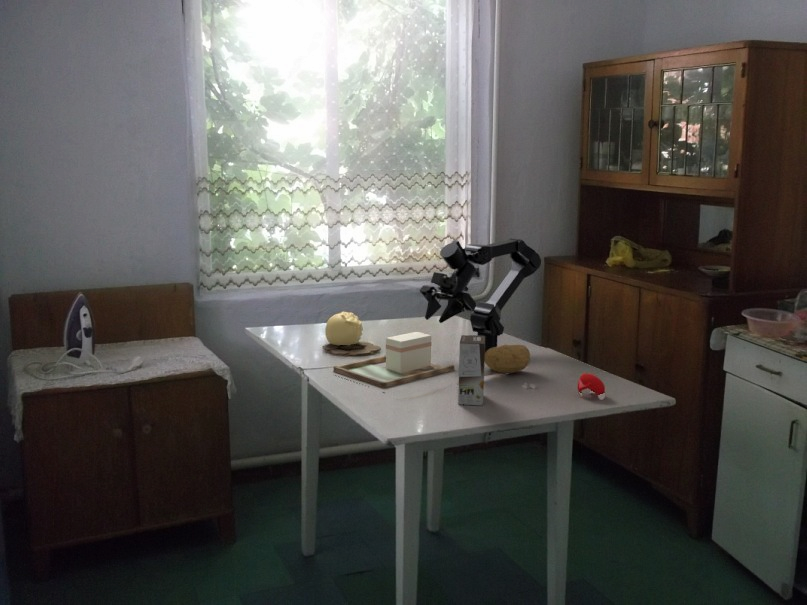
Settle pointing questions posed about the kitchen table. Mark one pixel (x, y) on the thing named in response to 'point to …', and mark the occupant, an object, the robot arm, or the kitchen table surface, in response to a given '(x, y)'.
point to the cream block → (408, 352)
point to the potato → (507, 358)
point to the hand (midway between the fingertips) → (432, 320)
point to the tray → (385, 372)
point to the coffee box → (471, 370)
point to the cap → (591, 384)
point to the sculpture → (343, 329)
